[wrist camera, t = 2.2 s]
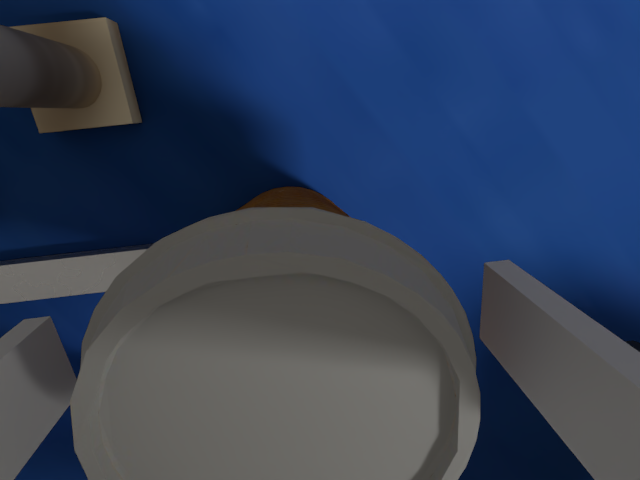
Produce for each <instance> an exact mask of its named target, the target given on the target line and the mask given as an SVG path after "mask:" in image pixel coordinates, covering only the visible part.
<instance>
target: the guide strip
mask: <svg viewBox="0 0 640 480" xmlns="http://www.w3.org/2000/svg"><path fill="white" fill-rule="evenodd" d="M152 245H153V244H144V245H135V246H127V247H118V248H109V249H100V250H92V251H83V252H74V253H65V254H57V255H48V256H39V257H30V258H22V259H13V260H4V261H0V304H4V303H13V302H21V301H30V300H38V299H47V298H55V297H64V296H72V295H81V294H90V293H98V292H106V291H107V289H108V288H109V286H110V285H111V283H112V282H113V280H114V279H115V277H116V276H117V275H118V274H119V273H121V272H122V271H123V270H124V269H125V268H126V267H128V266H129V265H130V264H131V263H132V262H133V261H135V260H136V259H137V258H138V257H139V256H140V255H141V254H143V253H144V252H145V251H146V250H147V249H148V248H150V247H151V246H152Z"/></svg>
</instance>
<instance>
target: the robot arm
mask: <svg viewBox="0 0 640 480" xmlns="http://www.w3.org/2000/svg"><path fill="white" fill-rule="evenodd" d="M480 339H481V340H482V342H483V343H484V344H485V345H486V347H487V348H488V349H489V350H490V351H491V353H492V354H493V355H494V356H495V358H496V359H497V360H498V361H499V363H500V364H501V365H502V366H503V367H504V369H505V370H506V371H507V372H508V374H509V375H510V376H511V377H512V379H513V380H514V381H515V382H516V383H517V385H518V386H519V387H520V388H521V390H522V391H523V392H524V393H525V395H526V396H527V397H528V398H529V399H530V401H531V402H532V403H533V404H534V406H535V407H536V408H537V409H538V411H539V412H540V413H541V414H542V415H543V417H544V418H545V419H546V420H547V422H548V423H549V424H550V425H551V427H552V428H553V429H554V430H555V432H556V433H557V434H558V435H559V436H560V438H561V439H562V440H563V441H564V443H565V444H566V445H567V446H568V448H569V449H570V450H571V451H572V452H573V454H574V455H575V456H576V457H577V459H578V460H579V461H580V462H581V464H582V465H583V466H584V467H585V468H586V470H587V471H588V472H589V473H590V475H591V476H592V477H593V478H594V480H640V343H638V342H636V341H626V342H625V341H623V340H622V339H620V338H619V337H617V336H616V335H615V334H613V333H612V332H610V331H609V330H607V329H606V328H605V327H603V326H602V325H600V324H599V323H598V322H596V321H595V320H593V319H592V318H590V317H589V316H588V315H586V314H585V313H583V312H582V311H581V310H579V309H578V308H576V307H575V306H573V305H572V304H571V303H569V302H568V301H566V300H565V299H564V298H562V297H561V296H559V295H558V294H556V293H555V292H554V291H552V290H551V289H549V288H548V287H546V286H545V285H544V284H542V283H541V282H539V281H538V280H537V279H535V278H534V277H532V276H531V275H529V274H528V273H527V272H525V271H524V270H522V269H521V268H520V267H518V266H517V265H515V264H514V263H512V262H511V261H510V260H503V261H495V262H487V263H484V275H483V291H482V307H481V322H480ZM76 382H77V379H76V376H75V374H74V372H73V369H72V367H71V364H70V362H69V360H68V357H67V355H66V352H65V350H64V348H63V345H62V343H61V340H60V338H59V336H58V333H57V331H56V329H55V326H54V324H53V321H52V319H51V317H50V316H48V317H40V318H32V319H24V320H23V321H21V322H20V323H19V324H18V325H16V326H15V327H14V328H13V329H11V330H10V331H9V332H7V333H6V334H5V335H4V336H2V337H1V338H0V480H14V479H15V477H16V476H17V475H18V473H19V472H20V471H21V469H22V468H23V467H24V465H25V464H26V463H27V461H28V460H29V459H30V457H31V456H32V455H33V453H34V452H35V451H36V449H37V448H38V447H39V445H40V444H41V443H42V441H43V440H44V439H45V437H46V436H47V435H48V433H49V432H50V431H51V429H52V428H53V427H54V425H55V424H56V423H57V421H58V420H59V419H60V417H61V416H62V414H63V413H64V412H65V410H66V409H67V408H68V406H69V405H70V400H71V397H72V394H73V391H74V388H75V385H76Z"/></svg>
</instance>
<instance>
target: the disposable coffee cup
mask: <svg viewBox="0 0 640 480" xmlns="http://www.w3.org/2000/svg"><path fill="white" fill-rule="evenodd" d="M70 407H71V418H72V429H73V440H74V450H75V452H76V455H77V457H78V459H79V461H80V463H81V465H82V467H83V469H84V471H85V473H86V476H87V478H88V480H458V479H459V477H460V475H461V474H462V472H463V471H464V469H465V468H466V466H467V463H468V461H469V458H470V456H471V453H472V451H473V448H474V445H475V443H476V440H477V435H478V429H479V424H480V390H479V386H478V381H477V377H476V353H475V347H474V340H473V335H472V332H471V329H470V326H469V322H468V319H467V316H466V313H465V311H464V309H463V307H462V306H461V304H460V302H459V300H458V299H457V297H456V295H455V293H454V291H453V290H452V288H451V287H450V286H449V284H448V283H447V282H446V280H445V279H444V278H443V277H442V275H441V274H440V273H439V272H438V271H437V270H436V269H435V268H434V267H433V266H432V265H431V264H430V263H429V262H428V261H427V260H426V259H425V258H424V257H423V256H422V255H421V254H419V253H418V252H417V251H415V250H414V249H412V248H411V247H410V246H408V245H407V244H405V243H404V242H403V241H401V240H400V239H398V238H397V237H395V236H393V235H391V234H389V233H387V232H385V231H383V230H381V229H379V228H377V227H375V226H373V225H371V224H369V223H367V222H365V221H361V220H358V219H354V218H351V217H349V216H348V214H346V213H345V212H343V211H342V210H341V209H340V208H339V207H337V206H336V205H335V204H334V203H333V202H332V201H330V200H329V199H327V198H326V197H325V196H323V195H322V194H320V193H317V192H315V191H313V190H310V189H306V188H302V187H280V188H274V189H272V190H269V191H266V192H263V193H262V194H260V195H258V196H257V197H255V198H253V199H252V200H251V201H250V202H248V203H247V204H245V205H244V206H242V207H240V208H239V209H237V210H236V211H234V212H229V213H225V214H220V215H216V216H212V217H208V218H206V219H204V220H201V221H199V222H196V223H194V224H192V225H190V226H187V227H185V228H183V229H181V230H179V231H177V232H174V233H172V234H170V235H168V236H166V237H164V238H162V239H160V240H159V241H157V242H156V243H154V244H153V245H152V246H151V247H150V248H148V249H147V250H146V251H145V252H144V253H143V254H141V255H140V256H139V257H138V258H137V259H136V260H135V261H133V262H132V263H131V264H130V265H129V266H128V267H126V268H125V269H124V270H123V271H122V272H121V273H119V274H118V275H117V276H116V277H115V279H114V280H113V282H112V283H111V285H110V286H109V288H108V289H107V291H106V292H105V294H104V295H103V297H102V298H101V300H100V301H99V303H98V304H97V306H96V307H95V309H94V312H93V314H92V317H91V320H90V322H89V325H88V328H87V330H86V333H85V336H84V338H83V341H82V350H81V365H80V372H79V375H78V378H77V382H76V385H75V388H74V391H73V394H72V397H71V400H70Z"/></svg>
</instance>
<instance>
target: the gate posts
mask: <svg viewBox="0 0 640 480" xmlns="http://www.w3.org/2000/svg"><path fill="white" fill-rule="evenodd" d="M0 107H23V108H31V110H32V113H33V116H34V119H35V122H36V125H37V128H38V131H39V133H48V132H59V131H68V130H78V129H87V128H96V127H106V126H115V125H125V124H134V123H142V119H141V115H140V111H139V107H138V103H137V99H136V95H135V91H134V88H133V84H132V80H131V76H130V72H129V68H128V64H127V60H126V56H125V52H124V48H123V44H122V40H121V36H120V32H119V28H118V24H117V23H116V22H114V21H112V20H110V19H108V18H106V17H103V18H93V19H83V20H73V21H63V22H53V23H43V24H33V25H23V26H13V27H6V26H3V25H0Z"/></svg>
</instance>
